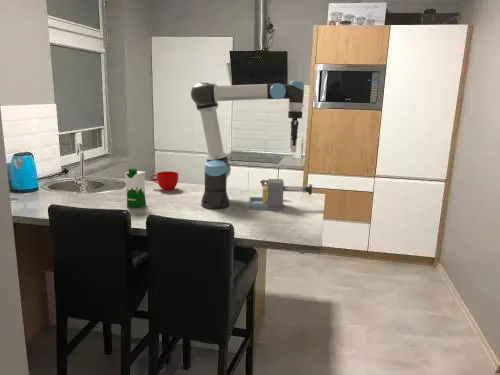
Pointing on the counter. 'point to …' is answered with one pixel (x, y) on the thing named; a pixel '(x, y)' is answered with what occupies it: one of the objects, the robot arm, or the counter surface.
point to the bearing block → (275, 194)
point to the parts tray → (257, 203)
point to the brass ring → (265, 194)
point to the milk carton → (135, 188)
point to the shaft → (299, 189)
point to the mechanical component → (264, 182)
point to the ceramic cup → (166, 180)
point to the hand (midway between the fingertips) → (292, 150)
